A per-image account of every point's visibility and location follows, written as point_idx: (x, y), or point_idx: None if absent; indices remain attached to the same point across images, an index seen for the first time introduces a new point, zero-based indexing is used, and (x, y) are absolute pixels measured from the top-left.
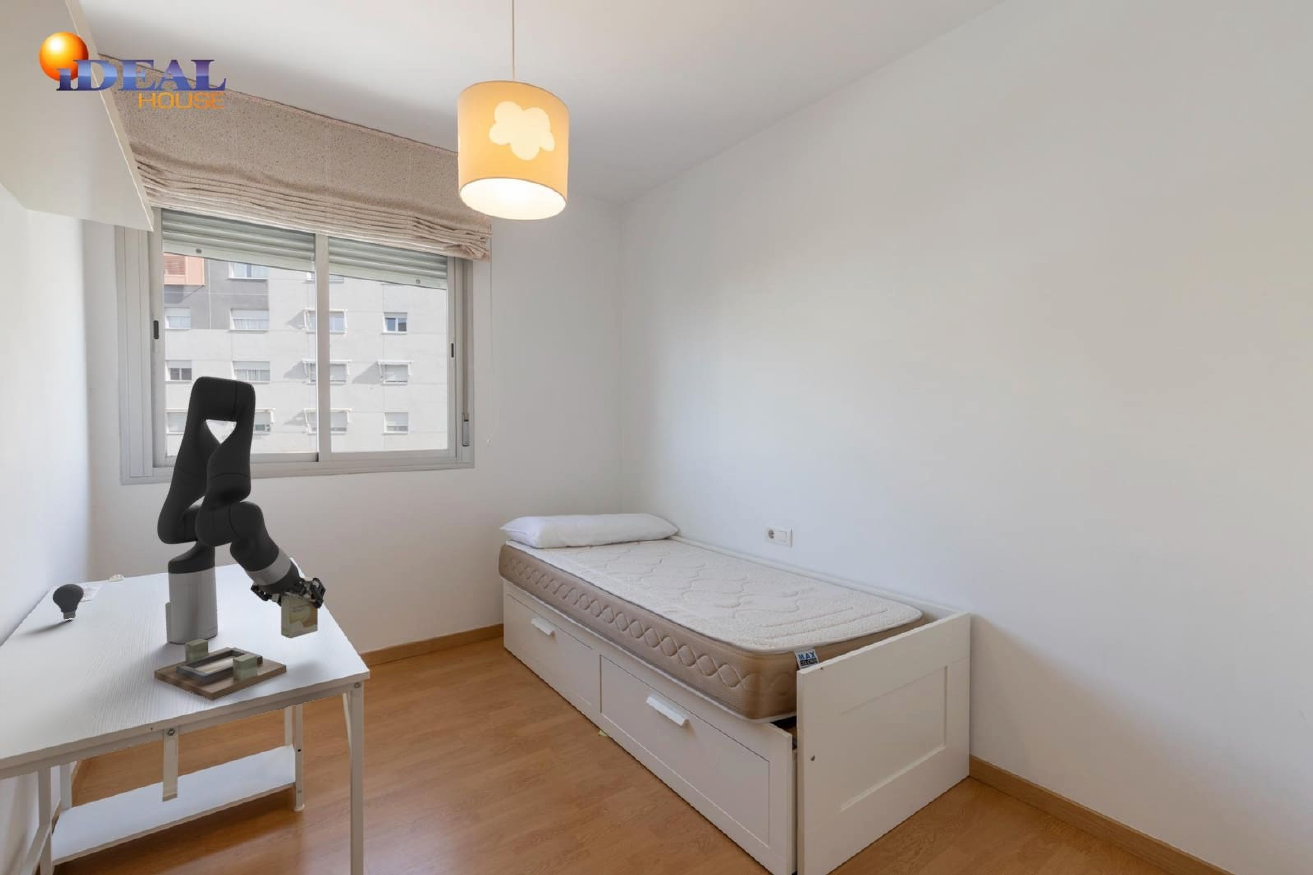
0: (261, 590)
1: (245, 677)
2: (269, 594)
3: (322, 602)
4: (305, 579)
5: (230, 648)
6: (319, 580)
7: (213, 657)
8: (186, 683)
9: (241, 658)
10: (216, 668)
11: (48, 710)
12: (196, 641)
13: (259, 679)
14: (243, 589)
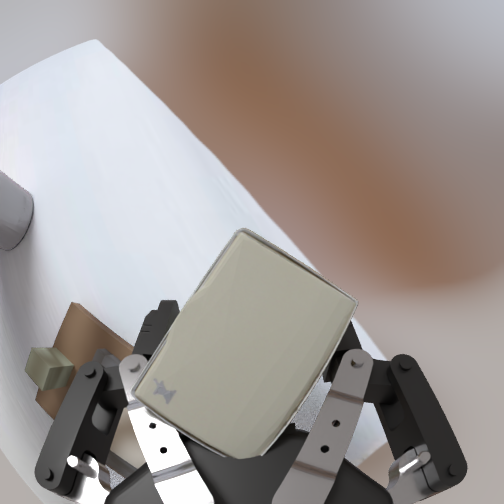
0: (96, 459)
1: None
2: (114, 401)
3: None
4: (276, 327)
5: (80, 312)
6: (460, 450)
7: None
8: (123, 476)
9: None
10: (126, 431)
11: (22, 461)
12: (34, 365)
13: None
14: (43, 70)
